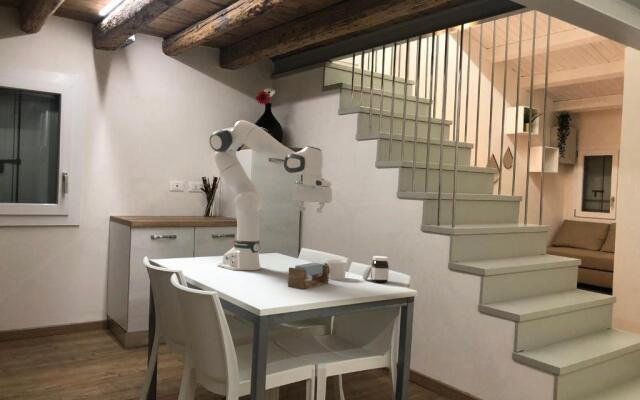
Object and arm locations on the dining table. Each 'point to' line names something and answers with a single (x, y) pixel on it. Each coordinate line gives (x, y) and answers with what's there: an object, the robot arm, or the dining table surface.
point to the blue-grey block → (311, 268)
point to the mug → (336, 269)
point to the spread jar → (378, 270)
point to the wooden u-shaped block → (299, 278)
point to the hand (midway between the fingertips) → (310, 211)
